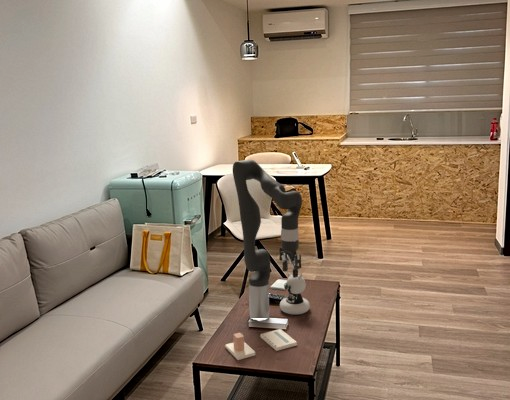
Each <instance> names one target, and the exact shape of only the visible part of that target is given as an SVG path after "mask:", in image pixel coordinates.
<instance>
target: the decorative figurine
mask: <svg viewBox="0 0 510 400" xmlns="http://www.w3.org/2000/svg"><path fill="white" fill-rule="evenodd" d="M287 274H288V278H287V279H286V280H287V282H286V283H285V284H284V288H285V290H287V291H288V295H287V297H285V298H283V299H282V300H281V301H280V303H279V307H280V311H282V312H283V313H285V314H288V315H294V316H295V315H303V314H305V313H307V312H308V311H309V310H310V306H311V305H310V301H309V300H308V299H306V298H304V297H303V296H302V293H303V292H304V291H305V289H306V280H305V278H304V277H303V276H302V275H303V273H300V274H298V277H295V278H294V277H293V273H290V272H289V271H287Z"/></svg>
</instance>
